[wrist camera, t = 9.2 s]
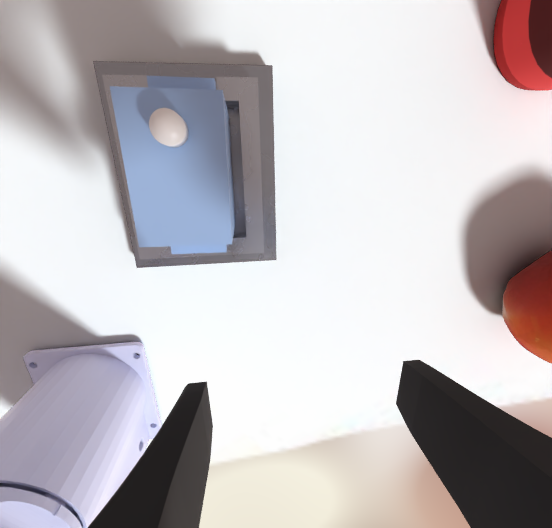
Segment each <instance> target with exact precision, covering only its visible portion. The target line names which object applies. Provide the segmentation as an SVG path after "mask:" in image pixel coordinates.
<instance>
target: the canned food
mask: <svg viewBox="0 0 552 528" xmlns="http://www.w3.org/2000/svg"><path fill="white" fill-rule="evenodd" d="M493 41H494V54H495V57H496V61H497V65H498V67H499V69H500V71H501V73H502V75H503V76H504V77H505V78H506V80H507V81H508V82H509V83H511V84H512V85H514V86H515V87H517V88H521V89H524V90H551V89H552V0H501V3H500V6H499V8H498V12H497V17H496V21H495V27H494V40H493Z"/></svg>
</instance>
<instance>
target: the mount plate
mask: <svg viewBox="0 0 552 528" xmlns="http://www.w3.org/2000/svg"><path fill="white" fill-rule="evenodd" d="M93 62H94V67H95V72H96V76H97V81H98V86H99V91H100V95H101V100H102V105H103V109H104V114H105V119H106V124H107V128H108V133H109V138H110V143H111V147H112V152H113V157H114V161H115V166H116V171H117V176H118V180H119V185H120V190H121V195H122V199H123V204H124V209H125V214H126V218H127V223H128V228H129V232H130V237H131V242H132V247H133V251H134V256H135V261H136V266H137V268H142V267H159V266H177V265H195V264H212V263H230V262H247V261H265V260H276V222H275V173H274V124H273V75H272V65H230V64H187V63H145V62H102V61H93ZM147 76H171V77H197V78H215V82H216V90H223V93H224V98H225V102H226V106H227V110H228V114H229V120H230V138H231V157H232V175H233V193H234V212H235V229H234V235H233V241H232V244H228V245H227V252H220V253H192V254H172V253H171V246H166V247H139V244H138V239H137V233H136V228H135V222H134V217H133V211H132V206H131V200H130V195H129V189H128V184H127V178H126V173H125V168H124V162H123V157H122V151H121V146H120V140H119V135H118V129H117V124H116V118H115V113H114V108H113V102H112V97H111V91H110V86H118V87H148V83H147Z"/></svg>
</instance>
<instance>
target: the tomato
mask: <svg viewBox="0 0 552 528" xmlns="http://www.w3.org/2000/svg"><path fill="white" fill-rule="evenodd" d="M502 313H503V318H504V321H505V323H506V325H507V327H508V328H509V330H510V332H511V333H512V335H513V336H514V338H515V339H516V340H517V341H518V342H519V343H520V344H521V345H522V346H523V347H524V348H525V349H527V350H528V351H530V352H531V353H533V354H534V355H536V356H538V357H539V358H541V359H543V360H545V361H547V362H549V363H552V250H551V251H550V252H548V253H546V254H545V255H543V256H542V257H540V258H539V259H537V260H536V261H534V262H533V263H532V264H530V265H529V266H527V267H526V268H524V269H523V270H521V271H520V272H519V273H518V274H516V275H515V276H514V277H512V278H511V279H510V280H509V282H508V284H507V287H506V289H505V291H504V294H503V310H502Z"/></svg>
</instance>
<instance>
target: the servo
mask: <svg viewBox="0 0 552 528" xmlns="http://www.w3.org/2000/svg"><path fill="white" fill-rule="evenodd" d="M147 83H148V87H118V86H110V91H111V97H112V102H113V108H114V113H115V118H116V124H117V129H118V135H119V140H120V146H121V151H122V157H123V162H124V168H125V173H126V178H127V184H128V189H129V195H130V200H131V206H132V211H133V217H134V222H135V228H136V233H137V239H138V244H139V247H166V246H171V253H172V254H192V253H220V252H227V245H228V244H232V241H233V235H234V229H235V212H234V193H233V175H232V157H231V138H230V120H229V114H228V110H227V106H226V102H225V98H224V93H223V90H216V82H215V78H197V77H171V76H147Z"/></svg>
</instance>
